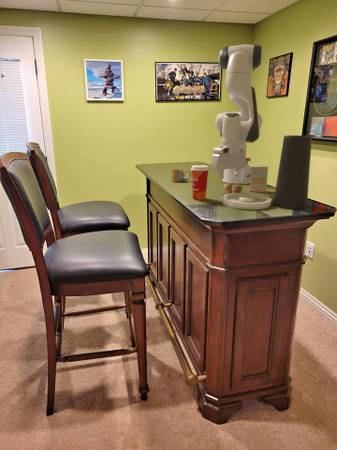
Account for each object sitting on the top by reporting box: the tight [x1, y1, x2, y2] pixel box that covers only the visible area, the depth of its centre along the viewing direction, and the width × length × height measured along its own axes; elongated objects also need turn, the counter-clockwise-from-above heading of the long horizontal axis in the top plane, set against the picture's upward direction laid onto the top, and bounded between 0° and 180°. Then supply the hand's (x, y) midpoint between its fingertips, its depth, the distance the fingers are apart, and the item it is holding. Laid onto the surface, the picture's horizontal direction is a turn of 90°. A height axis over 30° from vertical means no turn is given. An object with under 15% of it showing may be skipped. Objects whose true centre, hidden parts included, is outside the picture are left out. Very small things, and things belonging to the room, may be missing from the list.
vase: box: [272, 134, 313, 210], centre depth 140 cm, size 14×14×29 cm
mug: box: [170, 169, 192, 183], centre depth 198 cm, size 12×7×7 cm, turn 97°
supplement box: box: [249, 165, 269, 194], centre depth 170 cm, size 8×5×13 cm, turn 71°
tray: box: [220, 192, 273, 211], centre depth 147 cm, size 21×21×2 cm
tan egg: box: [222, 182, 233, 195], centre depth 165 cm, size 4×4×5 cm
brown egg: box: [232, 184, 242, 193], centre depth 160 cm, size 4×4×5 cm
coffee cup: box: [190, 164, 210, 201], centre depth 154 cm, size 8×8×15 cm
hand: (228, 178), depth 163 cm, fingers open, 8 cm apart
